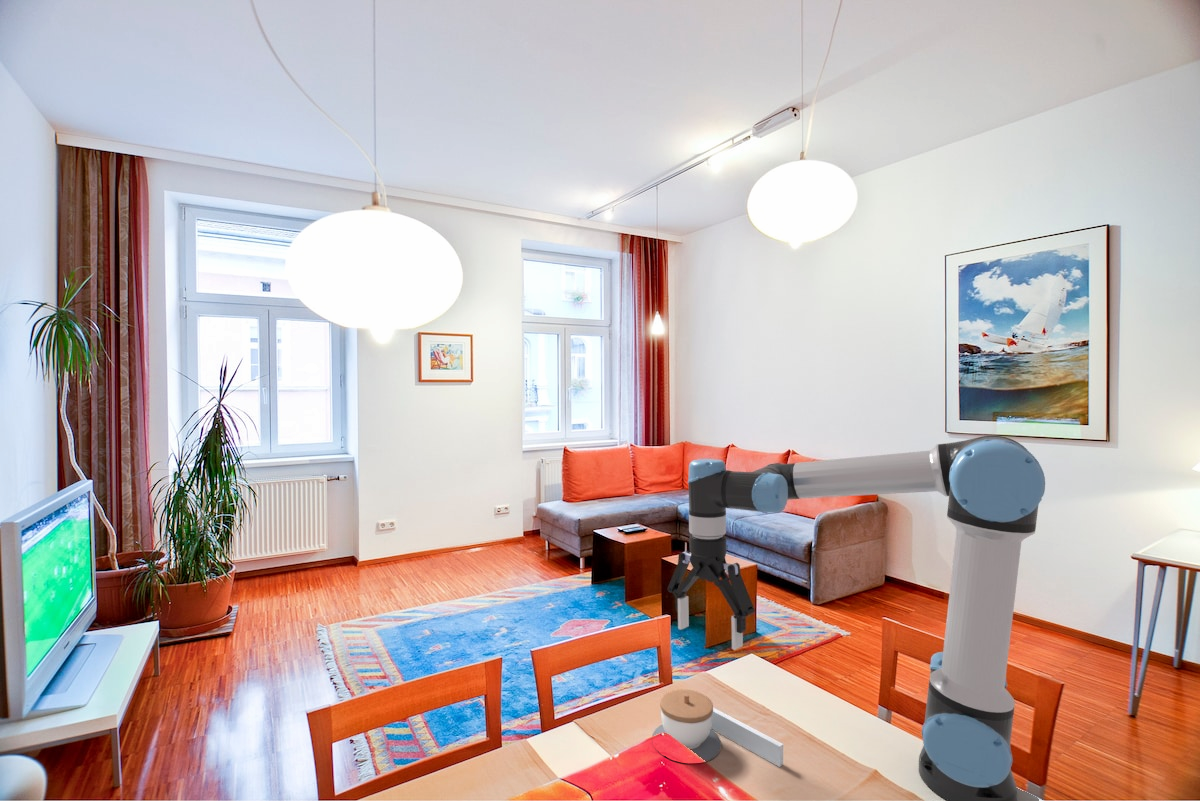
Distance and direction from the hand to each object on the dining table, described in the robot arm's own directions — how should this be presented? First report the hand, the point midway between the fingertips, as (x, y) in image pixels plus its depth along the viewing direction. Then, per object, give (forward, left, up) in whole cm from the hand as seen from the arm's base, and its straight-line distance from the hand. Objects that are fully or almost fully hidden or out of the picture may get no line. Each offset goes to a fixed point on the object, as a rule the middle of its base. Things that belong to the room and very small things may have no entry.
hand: (709, 637), depth 117 cm
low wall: (-4, -4, -21) cm, 22 cm away
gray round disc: (+2, +4, -21) cm, 22 cm away
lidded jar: (+2, +4, -21) cm, 22 cm away
